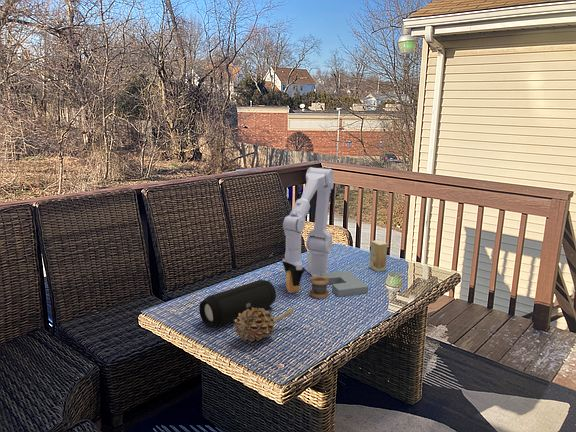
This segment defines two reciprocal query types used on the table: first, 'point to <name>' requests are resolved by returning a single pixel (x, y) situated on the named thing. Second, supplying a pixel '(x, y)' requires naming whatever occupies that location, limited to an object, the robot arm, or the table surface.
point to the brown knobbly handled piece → (257, 323)
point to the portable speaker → (236, 302)
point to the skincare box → (378, 255)
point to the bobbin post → (319, 286)
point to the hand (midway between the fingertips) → (292, 281)
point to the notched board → (345, 283)
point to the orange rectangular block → (291, 283)
